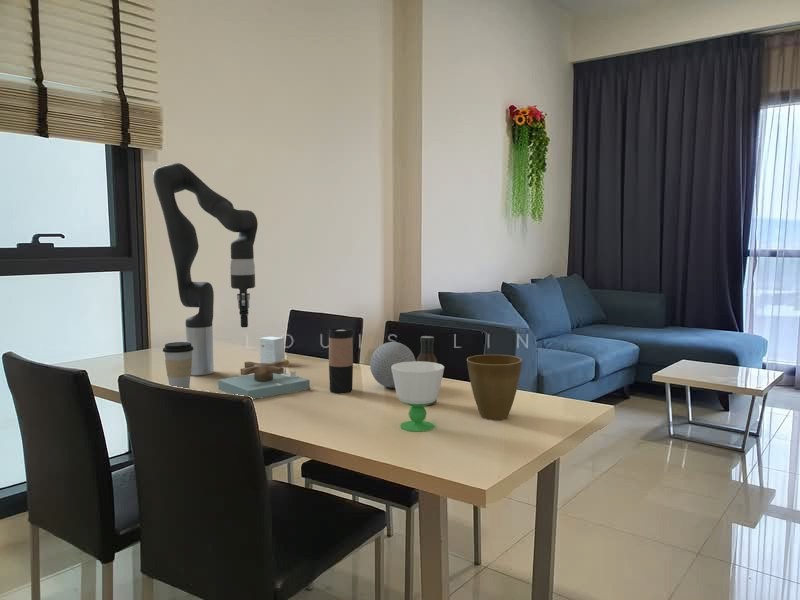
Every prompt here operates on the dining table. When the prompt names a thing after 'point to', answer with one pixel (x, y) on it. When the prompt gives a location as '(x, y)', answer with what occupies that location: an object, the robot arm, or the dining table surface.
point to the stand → (264, 385)
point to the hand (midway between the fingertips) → (244, 326)
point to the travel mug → (340, 360)
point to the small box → (271, 349)
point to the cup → (417, 390)
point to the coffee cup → (178, 363)
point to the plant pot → (494, 383)
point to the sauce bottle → (427, 352)
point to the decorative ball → (388, 361)
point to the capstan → (264, 369)
